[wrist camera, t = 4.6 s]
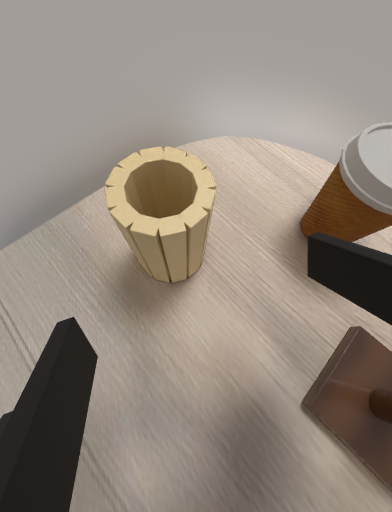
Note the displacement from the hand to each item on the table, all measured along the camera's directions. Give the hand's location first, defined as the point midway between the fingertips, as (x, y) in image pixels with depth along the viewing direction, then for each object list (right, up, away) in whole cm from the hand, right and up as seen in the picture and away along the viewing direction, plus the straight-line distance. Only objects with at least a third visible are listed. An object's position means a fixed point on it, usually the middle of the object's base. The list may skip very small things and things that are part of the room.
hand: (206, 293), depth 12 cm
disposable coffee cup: (+17, +6, +17) cm, 25 cm away
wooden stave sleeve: (-4, +3, +15) cm, 16 cm away
